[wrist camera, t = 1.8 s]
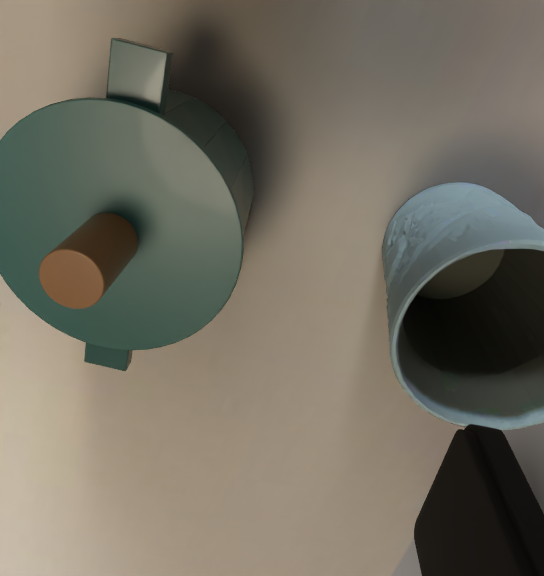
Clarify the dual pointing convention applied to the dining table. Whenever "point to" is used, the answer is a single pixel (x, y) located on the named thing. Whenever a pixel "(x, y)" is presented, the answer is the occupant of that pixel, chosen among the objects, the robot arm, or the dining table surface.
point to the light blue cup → (467, 306)
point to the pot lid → (116, 224)
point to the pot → (184, 112)
